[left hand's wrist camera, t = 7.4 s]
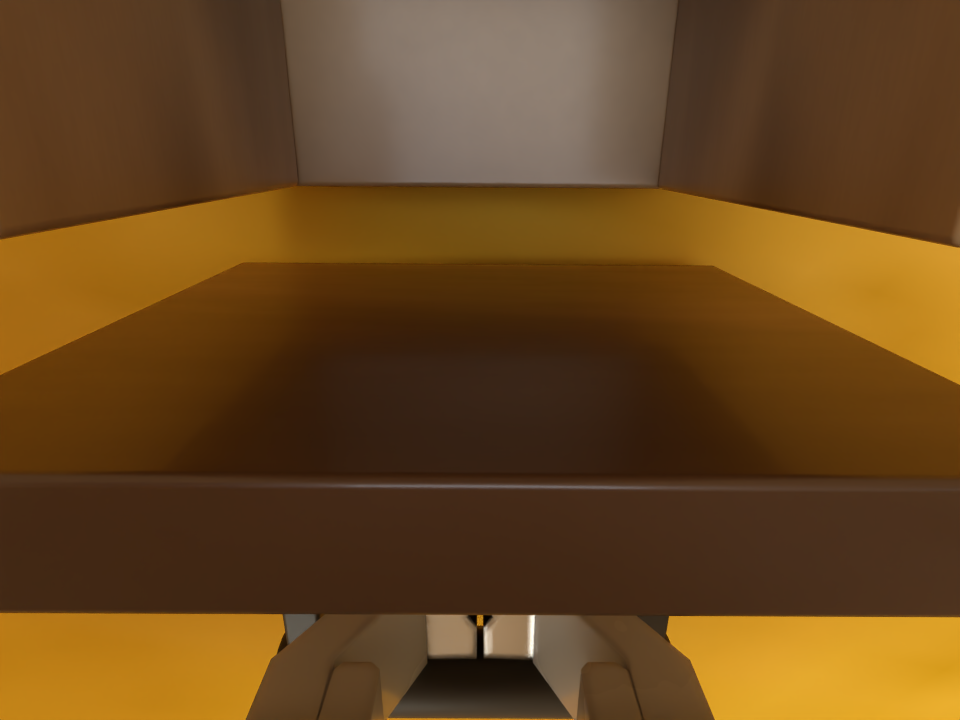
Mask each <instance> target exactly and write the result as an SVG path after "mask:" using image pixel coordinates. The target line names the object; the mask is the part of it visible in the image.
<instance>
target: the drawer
mask: <svg viewBox="0 0 960 720" xmlns="http://www.w3.org/2000/svg"><path fill="white" fill-rule="evenodd" d="M293 186H361V187H504V188H648V189H664V190H669V191H674V192H679V193H684V194H689V195H695V196H700V197H705V198H710V199H715V200H720V201H725V202H730V203H735V204H740V205H745V206H750V207H755V208H760V209H765V210H770V211H776V212H781V213H786V214H791V215H796V216H801V217H806V218H811V219H816V220H821V221H826V222H831V223H836V224H841V225H846V226H852V227H857V228H862V229H867V230H872V231H877V232H882V233H887V234H892V235H897V236H902V237H907V238H912V239H917V240H922V241H927V242H933V243H938V244H943V245H948V246H953V247H960V0H0V239H6V238H11V237H17V236H22V235H28V234H33V233H39V232H44V231H50V230H55V229H61V228H67V227H72V226H78V225H83V224H89V223H94V222H100V221H105V220H111V219H116V218H122V217H128V216H133V215H139V214H144V213H150V212H155V211H161V210H166V209H172V208H177V207H183V206H189V205H194V204H200V203H205V202H211V201H216V200H222V199H227V198H233V197H238V196H244V195H250V194H255V193H261V192H266V191H272V190H277V189H283V188H288V187H293ZM0 613H150V614H283V619H284V626H285V634H284V635H283V638H282V640H281V643H280V645H279V648H278V652H277V654H278V653H279V652H280V651H282V650H283V649H284V648H285V647H286V646H288V645H289V644H290V643H291V642H292V641H294V640H295V639H296V638H297V637H298V636H300V635H301V634H302V633H303V632H304V631H306V630H307V629H308V628H309V627H310V626H312V625H313V624H314V623H315V622H316V621H318V620H319V619H320V618H321V617H322V616H324V615H325V614H371V615H593V616H638V617H639V618H640V619H641V620H642V621H644V622H645V623H646V624H647V625H648V626H650V627H651V628H652V629H653V630H654V631H656V632H657V633H658V634H659V635H660V636H662V637H663V638H664V639H665V640H666V641H668V642H669V643H670V641H669V639H668V636H667V634H666V631H667V624H668V618H669V616H815V617H960V385H959V384H957V383H954V382H952V381H950V380H948V379H946V378H944V377H942V376H940V375H938V374H936V373H934V372H932V371H930V370H928V369H925V368H923V367H921V366H919V365H917V364H915V363H913V362H911V361H909V360H907V359H905V358H903V357H901V356H899V355H897V354H894V353H892V352H890V351H888V350H886V349H884V348H882V347H880V346H878V345H876V344H874V343H872V342H870V341H868V340H865V339H863V338H861V337H859V336H857V335H855V334H853V333H851V332H849V331H847V330H845V329H843V328H841V327H839V326H836V325H834V324H832V323H830V322H828V321H826V320H824V319H822V318H820V317H818V316H816V315H814V314H812V313H810V312H807V311H805V310H803V309H801V308H799V307H797V306H795V305H793V304H791V303H789V302H787V301H785V300H783V299H781V298H779V297H776V296H774V295H772V294H770V293H768V292H766V291H764V290H762V289H760V288H758V287H756V286H754V285H752V284H750V283H747V282H745V281H743V280H741V279H739V278H737V277H735V276H733V275H731V274H729V273H727V272H725V271H723V270H721V269H718V268H716V267H714V266H668V265H515V264H362V263H241V264H239V265H237V266H235V267H233V268H230V269H228V270H226V271H224V272H222V273H220V274H218V275H215V276H213V277H211V278H209V279H207V280H205V281H202V282H200V283H198V284H196V285H194V286H192V287H190V288H187V289H185V290H183V291H181V292H179V293H177V294H174V295H172V296H170V297H168V298H166V299H164V300H161V301H159V302H157V303H155V304H153V305H151V306H149V307H146V308H144V309H142V310H140V311H138V312H136V313H133V314H131V315H129V316H127V317H125V318H123V319H121V320H118V321H116V322H114V323H112V324H110V325H108V326H105V327H103V328H101V329H99V330H97V331H95V332H92V333H90V334H88V335H86V336H84V337H82V338H80V339H77V340H75V341H73V342H71V343H69V344H67V345H64V346H62V347H60V348H58V349H56V350H54V351H52V352H49V353H47V354H45V355H43V356H41V357H39V358H36V359H34V360H32V361H30V362H28V363H26V364H23V365H21V366H19V367H17V368H15V369H13V370H11V371H8V372H6V373H4V374H2V375H0ZM388 718H517V719H573V718H572V716H571V715H570V713H569V712H568V711H567V709H566V708H565V706H564V705H563V704H562V702H561V701H560V699H559V698H558V697H557V695H556V694H555V692H554V691H553V690H552V688H551V687H550V686H549V684H548V683H547V681H546V680H545V679H544V677H543V676H542V674H541V673H540V672H539V670H538V669H537V667H536V666H535V665H534V663H533V660H514V659H484V643H483V626H477V659H445V660H427V664H426V666H425V667H424V668H423V670H422V671H421V673H420V674H419V675H418V677H417V678H416V679H415V681H414V682H413V684H412V685H411V686H410V688H409V689H408V691H407V692H406V693H405V695H404V696H403V697H402V699H401V700H400V702H399V703H398V704H397V706H396V707H395V709H394V710H393V711H392V713H391V714H390V715H389V717H388Z"/></svg>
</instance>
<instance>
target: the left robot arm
mask: <svg viewBox="0 0 960 720" xmlns="http://www.w3.org/2000/svg"><path fill="white" fill-rule="evenodd" d="M483 643H484V659H514V660H533V663H534V665H535V666H536V667H537V669H538V670H539V672H540V673H541V674H542V676H543V677H544V679H545V680H546V681H547V683H548V684H549V686H550V687H551V688H552V690H553V691H554V692H555V694H556V695H557V697H558V698H559V699H560V701H561V702H562V704H563V705H564V706H565V708H566V709H567V711H568V712H569V713H570V715H571V716H572V718H573V719H574V720H715V719H714V717H713V715H712V712H711V710H710V707H709V705H708V703H707V700H706V698H705V695H704V693H703V691H702V688H701V686H700V683H699V681H698V678H697V676H696V674H695V671H694V669H693V666H692V664H691V662H690V660H689V659H688V658H687V657H686V656H684V655H683V654H682V653H681V652H680V651H678V650H677V649H676V648H675V647H674V646H672V645H671V644H670V643H669V642H668V641H666V640H665V639H664V638H663V637H662V636H660V635H659V634H658V633H657V632H656V631H654V630H653V629H652V628H651V627H650V626H648V625H647V624H646V623H645V622H644V621H642V620H641V619H640V618H639V617H638V616H593V615H483ZM445 659H477V615H371V614H325V615H324V616H322V617H321V618H320V619H319V620H318V621H316V622H315V623H314V624H313V625H312V626H310V627H309V628H308V629H307V630H306V631H304V632H303V633H302V634H301V635H300V636H298V637H297V638H296V639H295V640H294V641H292V642H291V643H290V644H289V645H288V646H286V647H285V648H284V649H283V650H282V651H280V652H279V653H278V654H277V655H276V656H274V657H273V658H272V659H271V661H270V663H269V665H268V668H267V670H266V673H265V675H264V677H263V680H262V682H261V684H260V687H259V689H258V692H257V694H256V696H255V699H254V701H253V704H252V706H251V708H250V711H249V713H248V715H247V718H246V720H387V718H388V717H389V715H390V714H391V713H392V711H393V710H394V709H395V707H396V706H397V704H398V703H399V702H400V700H401V699H402V697H403V696H404V695H405V693H406V692H407V691H408V689H409V688H410V686H411V685H412V684H413V682H414V681H415V679H416V678H417V677H418V675H419V674H420V673H421V671H422V670H423V668H424V667H425V666H426V664H427V660H445Z"/></svg>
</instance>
